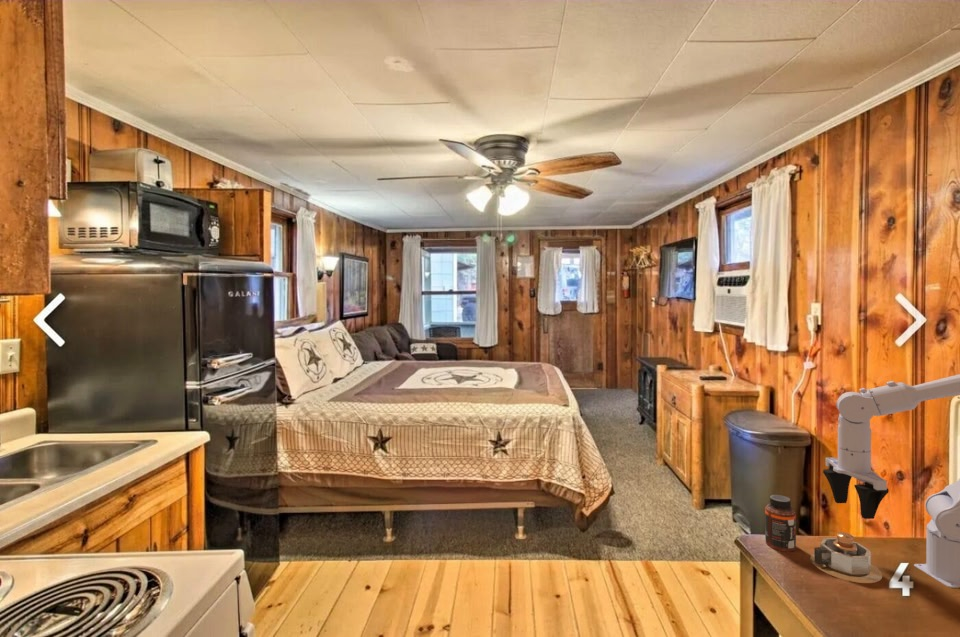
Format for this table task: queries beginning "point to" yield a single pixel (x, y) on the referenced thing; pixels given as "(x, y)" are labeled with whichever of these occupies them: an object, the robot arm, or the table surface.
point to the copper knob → (845, 543)
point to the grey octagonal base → (845, 562)
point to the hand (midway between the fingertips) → (853, 510)
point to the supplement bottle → (780, 524)
